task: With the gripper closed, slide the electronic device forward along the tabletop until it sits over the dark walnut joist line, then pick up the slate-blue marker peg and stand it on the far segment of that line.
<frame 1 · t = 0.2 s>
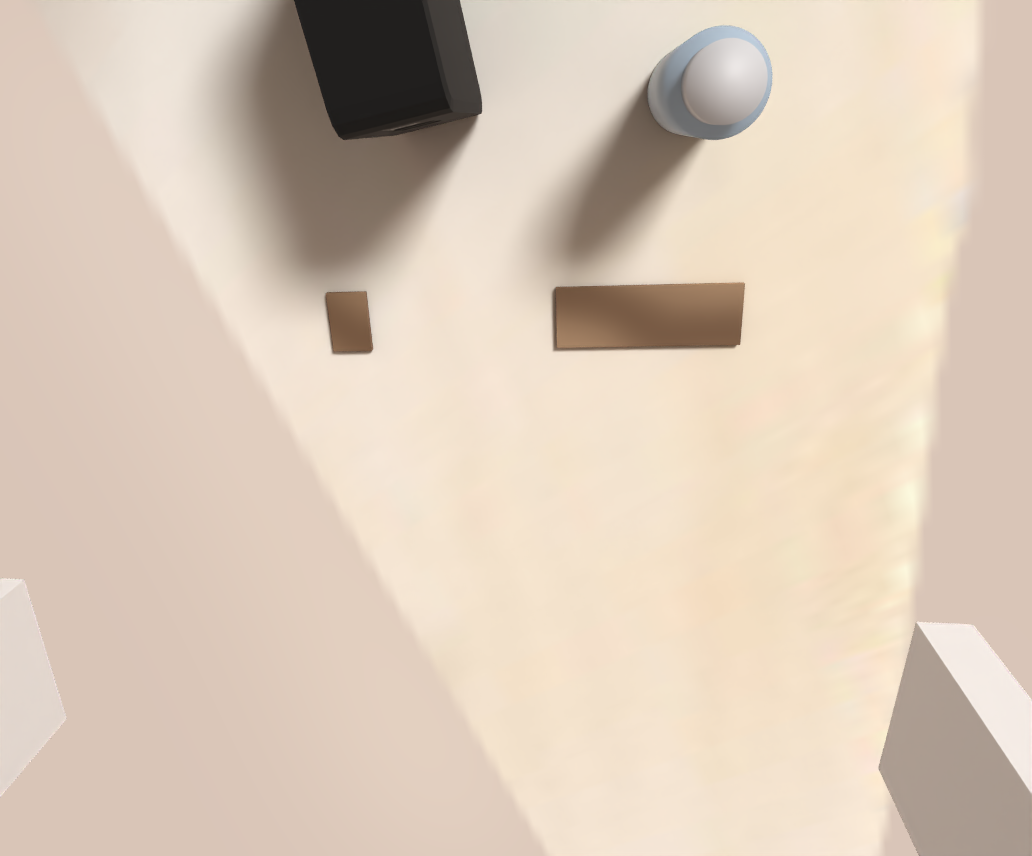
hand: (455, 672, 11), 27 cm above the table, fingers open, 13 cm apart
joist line: (516, 317, 37), on the table
marker peg: (688, 91, 33), on the table
electronic device: (412, 3, 32), on the table
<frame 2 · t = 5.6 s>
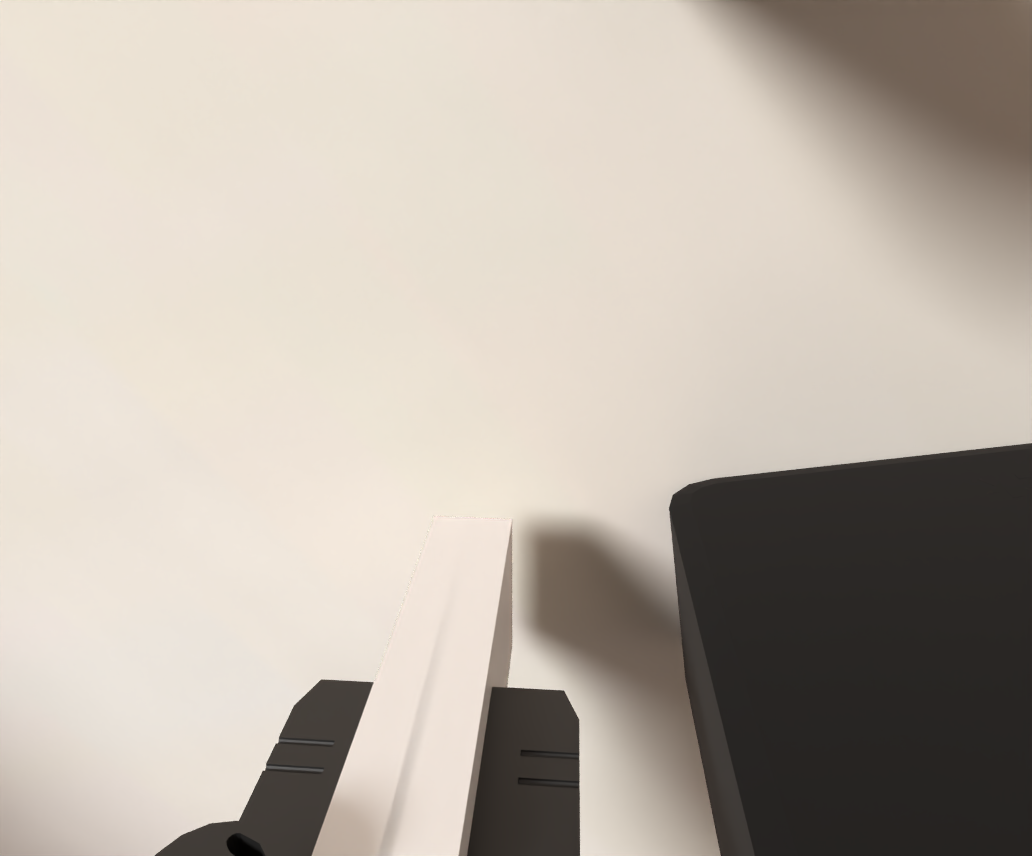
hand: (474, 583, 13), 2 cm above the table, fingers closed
electronic device: (925, 540, 15), on the table, touching hand
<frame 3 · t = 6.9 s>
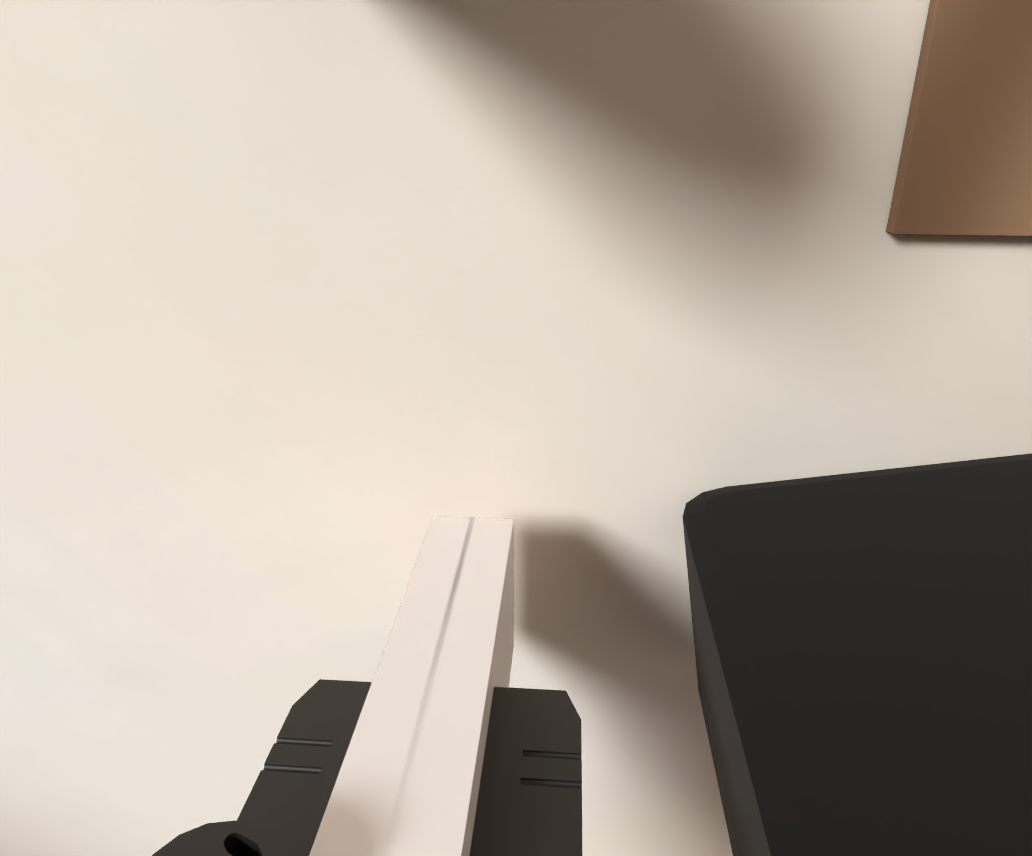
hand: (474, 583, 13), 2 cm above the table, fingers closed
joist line: (953, 352, 13), on the table
electronic device: (944, 549, 14), on the table, touching hand
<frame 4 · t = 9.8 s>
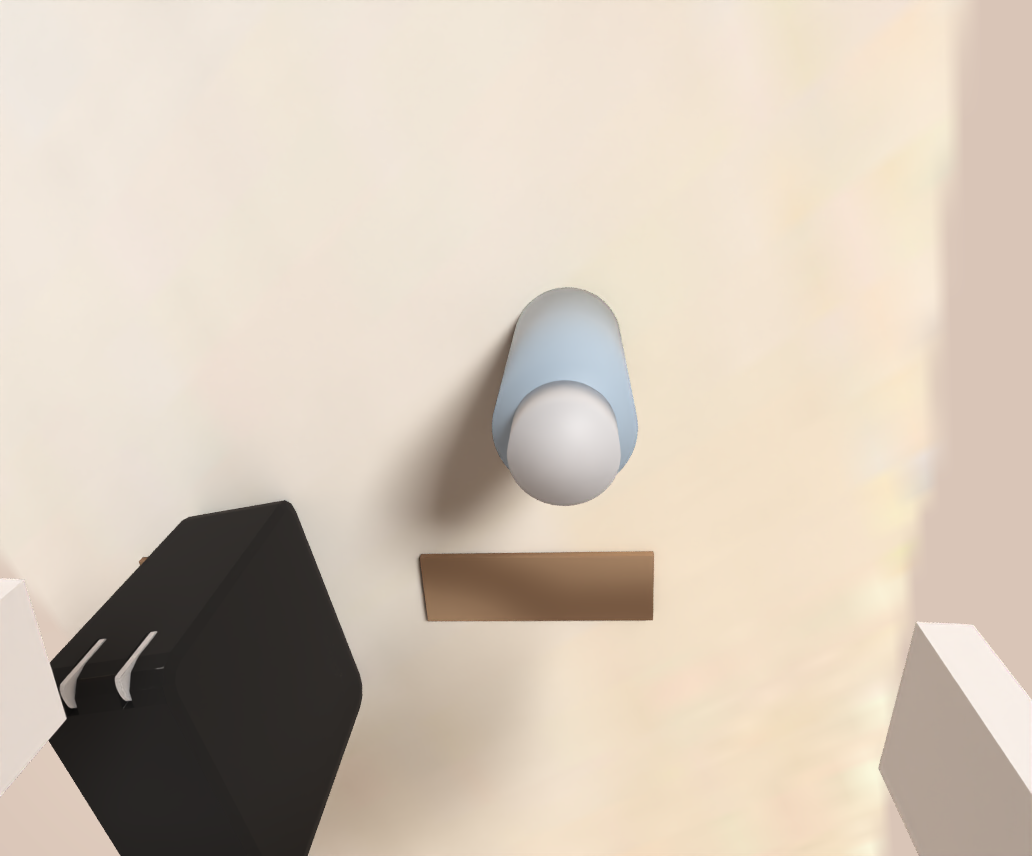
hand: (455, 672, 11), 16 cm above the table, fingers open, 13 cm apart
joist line: (376, 586, 30), on the table
marker peg: (567, 340, 25), on the table
electronic device: (286, 601, 31), on the table
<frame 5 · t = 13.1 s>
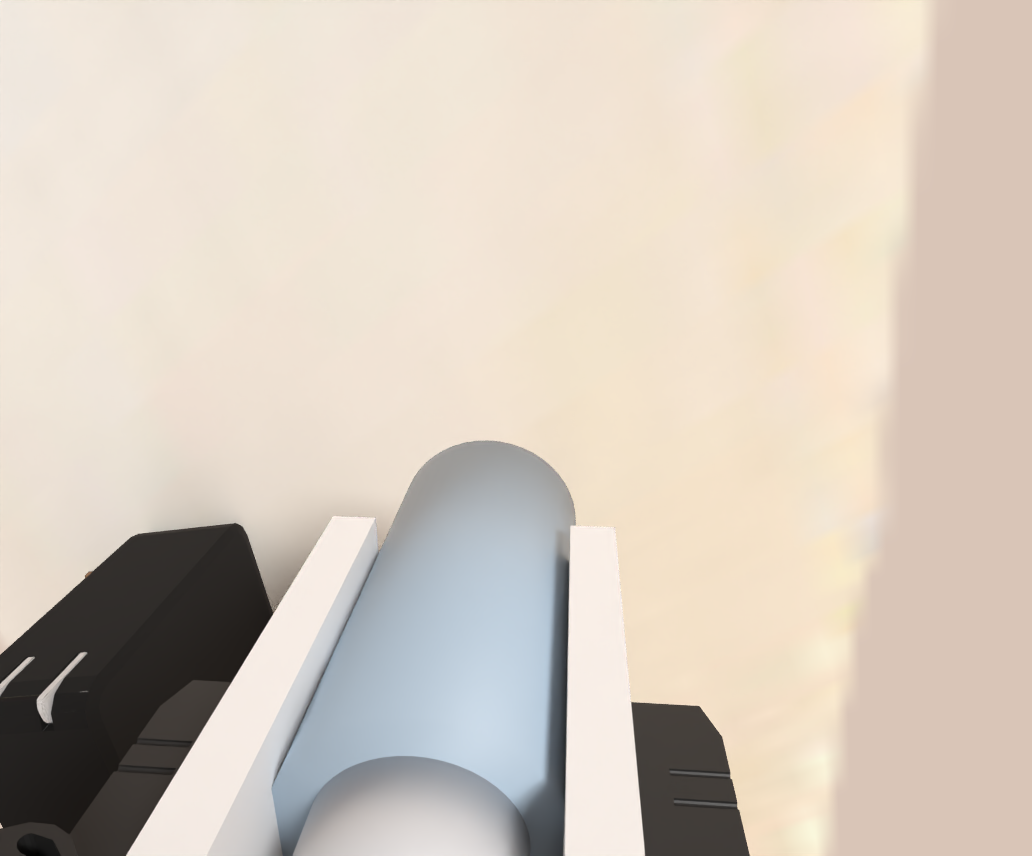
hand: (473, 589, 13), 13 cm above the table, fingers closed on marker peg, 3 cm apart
marker peg: (489, 519, 16), point 11 cm above the table, touching gripper
electronic device: (232, 624, 30), on the table
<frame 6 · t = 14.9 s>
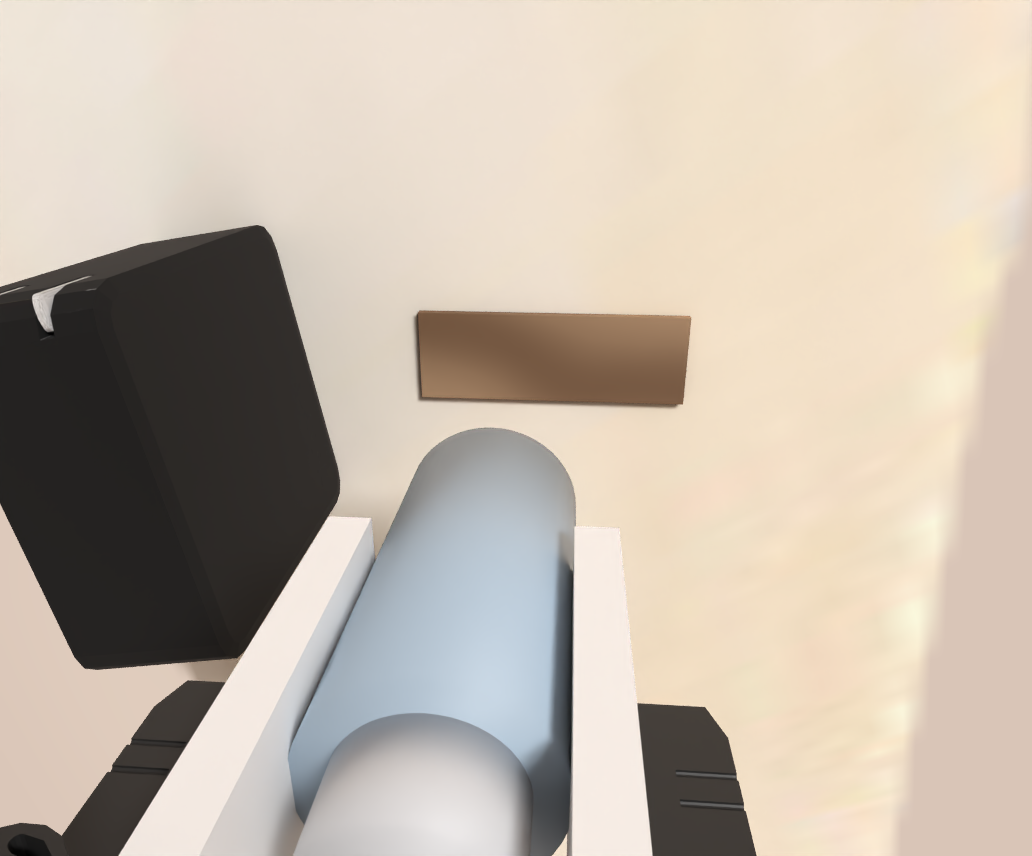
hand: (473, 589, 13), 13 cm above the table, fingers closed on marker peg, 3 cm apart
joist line: (364, 351, 26), on the table
marker peg: (492, 504, 16), point 10 cm above the table, touching gripper
electronic device: (258, 370, 27), on the table
when the fingers open (1 cm above the table, at t = 17.1 s): marker peg stays where it is, resting on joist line.
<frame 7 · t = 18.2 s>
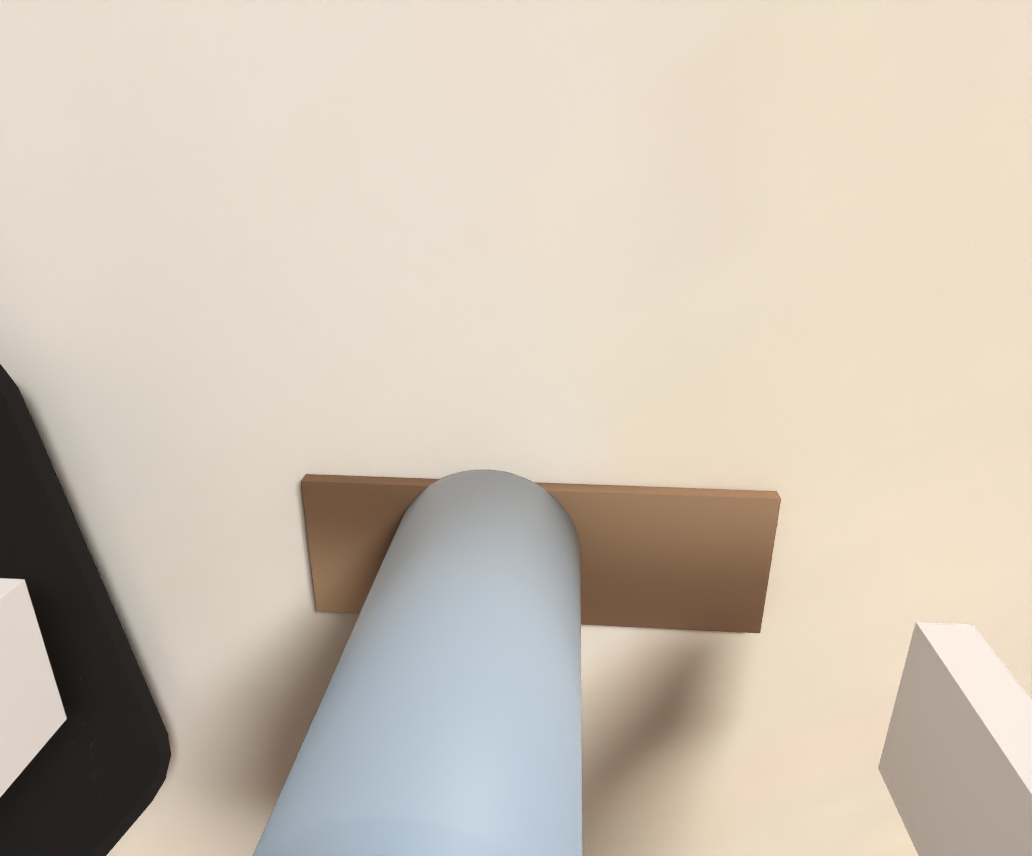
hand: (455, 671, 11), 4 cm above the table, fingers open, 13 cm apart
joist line: (218, 536, 15), on the table
marker peg: (487, 552, 14), resting on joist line
electronic device: (35, 570, 16), on the table
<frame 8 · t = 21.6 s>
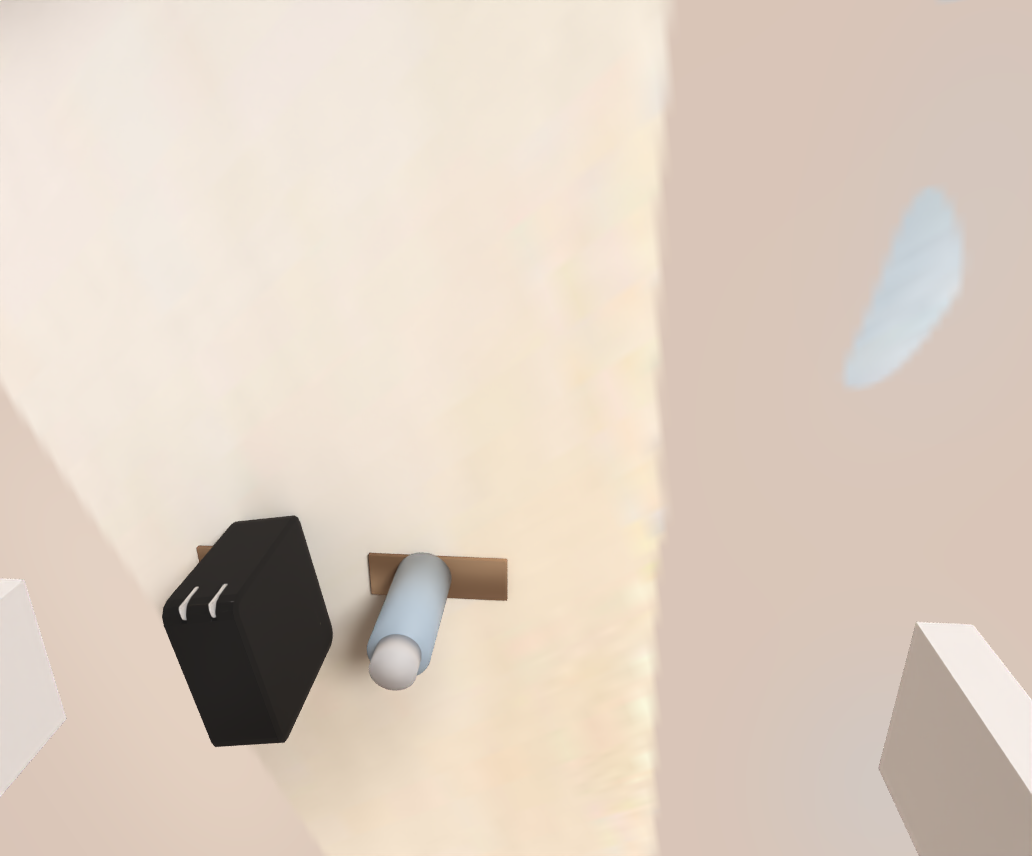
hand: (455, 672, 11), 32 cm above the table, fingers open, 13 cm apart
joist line: (341, 571, 49), on the table
marker peg: (424, 576, 48), resting on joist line
electronic device: (289, 576, 50), on the table
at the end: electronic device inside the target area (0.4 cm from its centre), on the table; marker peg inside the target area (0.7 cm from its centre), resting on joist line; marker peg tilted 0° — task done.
